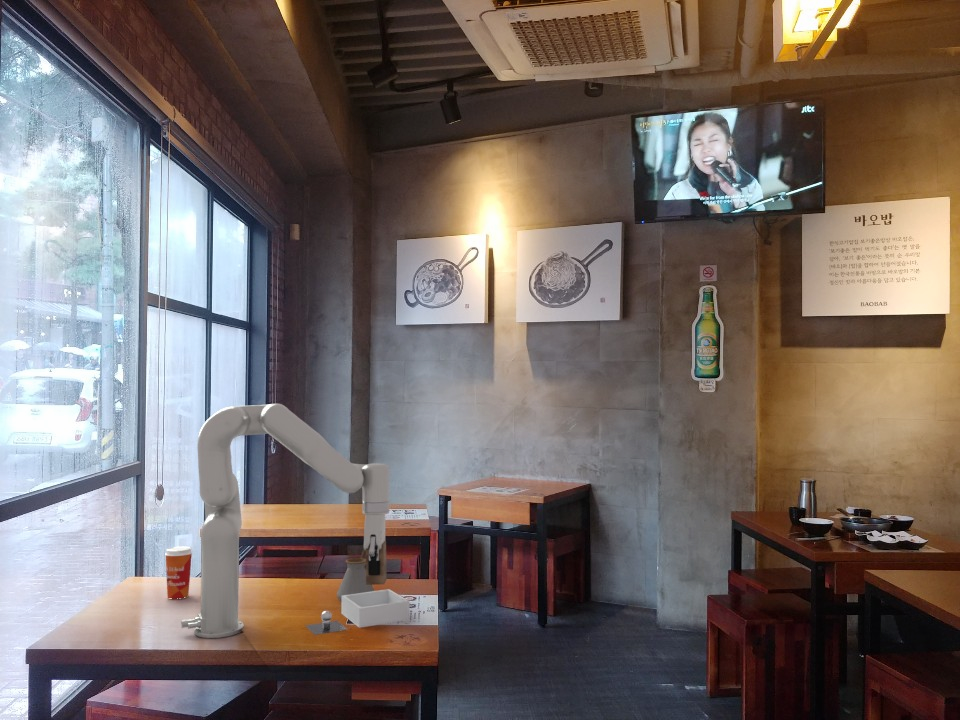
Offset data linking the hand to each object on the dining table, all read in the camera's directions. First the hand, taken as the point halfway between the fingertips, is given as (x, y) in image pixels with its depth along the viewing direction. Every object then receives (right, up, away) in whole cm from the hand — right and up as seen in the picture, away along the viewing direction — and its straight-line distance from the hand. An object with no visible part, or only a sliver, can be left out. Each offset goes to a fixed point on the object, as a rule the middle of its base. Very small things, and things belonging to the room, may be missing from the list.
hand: (375, 571), depth 209 cm
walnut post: (0, -3, 0) cm, 3 cm away
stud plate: (-12, -13, -11) cm, 20 cm away
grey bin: (0, -13, -1) cm, 13 cm away
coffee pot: (-8, -15, +21) cm, 27 cm away
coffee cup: (-65, -15, +23) cm, 70 cm away
